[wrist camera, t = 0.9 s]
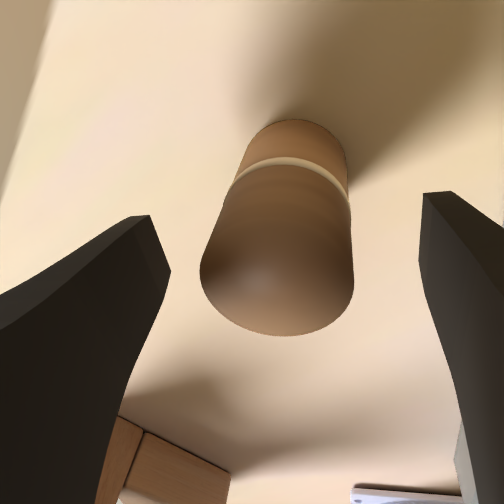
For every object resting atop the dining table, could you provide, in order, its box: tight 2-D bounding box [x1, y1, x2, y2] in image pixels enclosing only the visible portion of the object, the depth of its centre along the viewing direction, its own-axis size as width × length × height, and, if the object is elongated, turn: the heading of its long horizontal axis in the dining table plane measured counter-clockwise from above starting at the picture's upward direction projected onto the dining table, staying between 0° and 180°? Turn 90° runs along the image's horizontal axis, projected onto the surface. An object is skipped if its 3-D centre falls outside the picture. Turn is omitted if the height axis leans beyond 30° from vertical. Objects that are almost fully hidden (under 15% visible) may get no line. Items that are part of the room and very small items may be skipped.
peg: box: [200, 119, 354, 336], centre depth 12 cm, size 4×4×6 cm
